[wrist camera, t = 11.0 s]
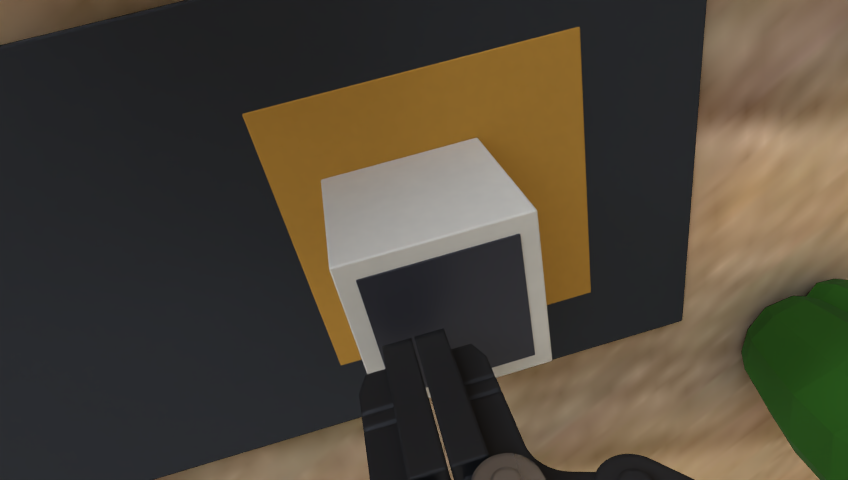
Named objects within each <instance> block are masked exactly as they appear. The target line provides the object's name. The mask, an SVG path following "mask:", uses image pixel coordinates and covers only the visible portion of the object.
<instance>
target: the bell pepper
mask: <svg viewBox="0 0 848 480" xmlns="http://www.w3.org/2000/svg"><path fill="white" fill-rule="evenodd" d="M742 357H743V362H744V368H745V370H746V372H747V373H748V375H749V377H750V379H751V380H752V382H753V384H754V385H755V387H756V389H757V390H758V392H759V394H760V396H761V397H762V399H763V401H764V403H765V404H766V406H767V408H768V410H769V412H770V413H771V415H772V416H773V418H774V420H775V421H776V423H777V424H778V426H779V427H780V429H781V431H782V432H783V434H784V435H785V437H786V438H787V440H788V442H789V443H790V445H791V446H792V448H793V449H794V451H795V452H796V453H797V455H798V456H799V457H800V458H801V459H802V460H803V461H804V462H805V463H806V465H807V466H808V467H809V468H810V469H811V470H812V471H813V472H814V473H815V475H816V476H817V477H818V478H819V479H820V480H848V280H842V279H831V280H827V281H823V282H819V283H817V284H816V285H815V286H814V287H813V289H812V290H811V291H810V292H809V294H808V295H807V296H791V297H789V298H787V299H784V300H782V301H780V302H777V303H775V304H773V305H770V306H768V307H766V308H765V309H764V310H763V311H762V313H761V314H760V315H759V316H758V318H757V319H756V320H755V321H754V322H753V324H752V325H751V326H750V327H749V329H748V331H747V334H746V338H745V341H744V345H743V348H742Z"/></svg>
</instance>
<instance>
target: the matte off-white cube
mask: <svg viewBox="0 0 848 480" xmlns="http://www.w3.org/2000/svg"><path fill="white" fill-rule="evenodd" d="M321 188H322V198H323V209H324V220H325V231H326V241H327V252H328V263H329V270H330V273H331V276H332V279H333V281H334V284H335V287H336V290H337V292H338V295H339V298H340V301H341V303H342V306H343V309H344V312H345V314H346V317H347V320H348V323H349V325H350V328H351V331H352V334H353V336H354V339H355V342H356V345H357V347H358V350H359V353H360V356H361V358H362V361H363V364H364V367H365V369H366V372H367V374H370V373H373V372H376V371H380V370H383V369H386V366H385V361H384V356H383V350H382V346H384V345H388V344H391V343H395V342H398V341H402V340H405V339H409V338H412V341H413V345H414V348H415V352H416V355H417V359H418V362H419V366H420V369H421V373H422V377H423V380H424V384H425V387H426V391H427V394H428V398H431V395H430V392H429V388H428V385H427V381H426V377H425V374H424V370H423V367H422V363H421V360H420V356H419V352H418V349H417V345H416V342H415V338H414V337H415V336H418V335H422V334H425V333H429V332H432V331H436V330H439V329H442V328H443V329H444V331H445V333H446V336H447V339H448V342H449V345H450V347H451V349H454V348H458V347H461V346H464V345H468V344H473V345H474V346H475V347H476V348H477V349H479V350H480V351H481V352H482V353H483V354H484V355H486V356H487V358H488V361H489V363H490V365H491V368H492V370H493V372H494V375H495V377H496V378H497V377H500V376H504V375H507V374H510V373H513V372H517V371H520V370H523V369H527V368H530V367H533V366H537V365H540V364H543V363H547V362H550V361H552V352H551V342H550V332H549V322H548V312H547V302H546V292H545V282H544V272H543V262H542V253H541V243H540V233H539V223H538V213H537V209H536V208H535V207H534V206H533V204H532V203H531V202H530V201H529V200H528V198H527V197H526V196H525V195H524V194H523V192H522V191H521V190H520V189H519V187H518V186H517V185H516V184H515V183H514V181H513V180H512V179H511V178H510V177H509V175H508V174H507V173H506V172H505V170H504V169H503V168H502V167H501V166H500V164H499V163H498V162H497V161H496V160H495V158H494V157H493V156H492V155H491V153H490V152H489V151H488V150H487V149H486V147H485V146H484V145H483V144H482V143H481V141H480V140H479V139H478V138H473V139H469V140H466V141H462V142H458V143H455V144H451V145H447V146H444V147H440V148H436V149H433V150H429V151H425V152H421V153H418V154H414V155H410V156H407V157H403V158H399V159H396V160H392V161H388V162H385V163H381V164H377V165H374V166H370V167H366V168H362V169H359V170H355V171H351V172H348V173H344V174H340V175H337V176H333V177H329V178H326V179H322V180H321Z"/></svg>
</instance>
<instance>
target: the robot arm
mask: <svg viewBox="0 0 848 480" xmlns="http://www.w3.org/2000/svg"><path fill="white" fill-rule="evenodd" d="M414 338H415V342H416V345H417V349H418V352H419V356H420V360H421V363H422V367H423V370H424V374H425V377H426V381H427V385H428V388H429V392H430V395H431V399H432V403H433V406H434V410H435V413H436V417H437V420H438V424H439V428H440V431H441V435H442V438H443V442H444V446H445V449H446V453H447V456H448V460H449V463H450V467H451V471H452V474H453V478H454V480H694V479H692V478H690V477H688V476H686V475H683V474H681V473H679V472H677V471H675V470H673V469H671V468H669V467H667V466H665V465H662V464H660V463H658V462H656V461H654V460H652V459H649V458H647V457H644V456H641V455H636V454H622V455H617V456H614V457H611V458H609V459H608V460H606V461H605V462H603V463H602V464H601V465H600V467H599V468H598V469H597V471H596V472H566V471H559V470H555V469H552V468H550V467H547V466H545V465H543V464H542V463H540V462H539V461H537V460H536V459H535V458H534V457H533V456H532V455H531V454H530V452H529V451H528V450H527V448H526V446H525V444H524V442H523V439H522V437H521V435H520V433H519V430H518V428H517V426H516V423H515V421H514V419H513V416H512V414H511V412H510V409H509V407H508V405H507V402H506V400H505V398H504V395H503V393H502V392H501V389H500V386H499V384H498V382H497V379H496V377H495V375H494V372H493V370H492V368H491V365H490V363H489V361H488V358H487V356H486V355H484V354H483V353H482V352H481V351H480V350H479V349H477V348H476V347H475V346H474V345H473V344H468V345H464V346H461V347H458V348H454V349H451V347H450V345H449V342H448V339H447V336H446V333H445V331H444V329H443V328H442V329H439V330H436V331H432V332H429V333H425V334H422V335H418V336H415V337H414ZM382 350H383V356H384V361H385V366H386V369H383V370H380V371H376V372H373V373H370V374H366V375H365V378H364V381H363V384H362V387H361V390H360V393H359V398H360V406H361V414H362V421H363V429H364V437H365V444H366V452H367V460H368V468H369V475H370V480H451V478H450V475H449V471H448V467H447V464H446V460H445V456H444V453H443V449H442V445H441V442H440V438H439V434H438V431H437V427H436V423H435V420H434V416H433V412H432V409H431V405H430V402H429V398H428V394H427V391H426V387H425V384H424V380H423V377H422V373H421V369H420V366H419V362H418V359H417V355H416V352H415V348H414V345H413V341H412V338H409V339H405V340H402V341H398V342H395V343H391V344H388V345H384V346H382Z"/></svg>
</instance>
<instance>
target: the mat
mask: <svg viewBox="0 0 848 480" xmlns="http://www.w3.org/2000/svg"><path fill="white" fill-rule="evenodd" d="M706 1H707V0H185V1H180V2H176V3H172V4H168V5H164V6H160V7H156V8H152V9H148V10H143V11H139V12H135V13H131V14H127V15H123V16H119V17H115V18H111V19H107V20H102V21H98V22H94V23H90V24H86V25H82V26H78V27H74V28H70V29H65V30H61V31H57V32H53V33H49V34H45V35H41V36H37V37H33V38H29V39H24V40H20V41H16V42H12V43H8V44H4V45H0V480H154V479H157V478H160V477H164V476H167V475H170V474H174V473H177V472H180V471H183V470H187V469H190V468H193V467H197V466H200V465H203V464H207V463H210V462H213V461H217V460H220V459H223V458H227V457H230V456H233V455H237V454H240V453H243V452H247V451H250V450H253V449H257V448H260V447H263V446H267V445H270V444H273V443H277V442H280V441H283V440H287V439H290V438H293V437H297V436H300V435H303V434H307V433H310V432H313V431H317V430H320V429H323V428H327V427H330V426H333V425H336V424H340V423H343V422H346V421H350V420H353V419H356V418H360V417H362V414H361V406H360V398H359V393H360V390H361V387H362V384H363V381H364V378H365V375H366V374H367V372H366V369H365V367H364V364H363V361H362V358H361V356H360V353H359V350H358V347H357V345H356V342H355V339H354V336H353V334H352V331H351V328H350V325H349V323H348V320H347V317H346V314H345V312H344V309H343V306H342V303H341V301H340V298H339V295H338V292H337V290H336V287H335V284H334V281H333V279H332V276H331V273H330V270H329V263H328V252H327V241H326V231H325V220H324V209H323V198H322V188H321V180H322V179H326V178H329V177H333V176H337V175H340V174H344V173H348V172H351V171H355V170H359V169H362V168H366V167H370V166H374V165H377V164H381V163H385V162H388V161H392V160H396V159H399V158H403V157H407V156H410V155H414V154H418V153H421V152H425V151H429V150H433V149H436V148H440V147H444V146H447V145H451V144H455V143H458V142H462V141H466V140H469V139H473V138H478V139H479V140H480V141H481V143H482V144H483V145H484V146H485V147H486V149H487V150H488V151H489V152H490V153H491V155H492V156H493V157H494V158H495V160H496V161H497V162H498V163H499V164H500V166H501V167H502V168H503V169H504V170H505V172H506V173H507V174H508V175H509V177H510V178H511V179H512V180H513V181H514V183H515V184H516V185H517V186H518V187H519V189H520V190H521V191H522V192H523V194H524V195H525V196H526V197H527V198H528V200H529V201H530V202H531V203H532V204H533V206H534V207H535V208H536V209H537V213H538V223H539V233H540V243H541V253H542V262H543V272H544V282H545V292H546V302H547V312H548V322H549V332H550V342H551V352H552V360H553V359H556V358H559V357H563V356H566V355H569V354H573V353H576V352H579V351H583V350H586V349H589V348H593V347H596V346H599V345H603V344H606V343H609V342H613V341H616V340H619V339H622V338H626V337H629V336H632V335H636V334H639V333H642V332H646V331H649V330H652V329H656V328H659V327H662V326H666V325H669V324H672V323H676V322H679V321H682V314H683V301H684V288H685V275H686V262H687V249H688V236H689V223H690V210H691V197H692V184H693V171H694V158H695V145H696V132H697V119H698V106H699V93H700V80H701V67H702V54H703V41H704V28H705V14H706Z"/></svg>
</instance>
